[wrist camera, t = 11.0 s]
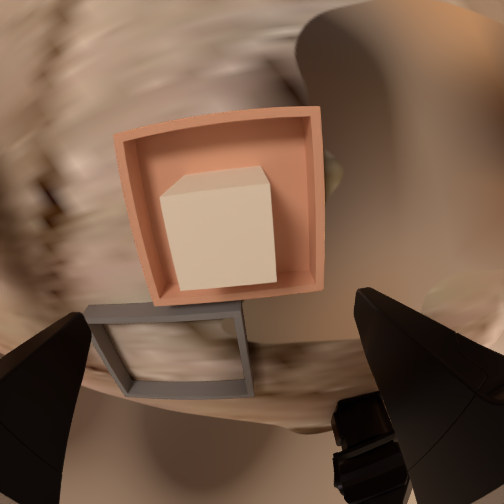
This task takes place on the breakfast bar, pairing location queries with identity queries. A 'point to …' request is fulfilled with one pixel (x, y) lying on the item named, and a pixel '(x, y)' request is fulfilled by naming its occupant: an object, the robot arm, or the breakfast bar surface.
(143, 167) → the terracotta tray
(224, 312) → the gray rectangular frame
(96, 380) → the breakfast bar surface
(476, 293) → the breakfast bar surface
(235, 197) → the stone block
